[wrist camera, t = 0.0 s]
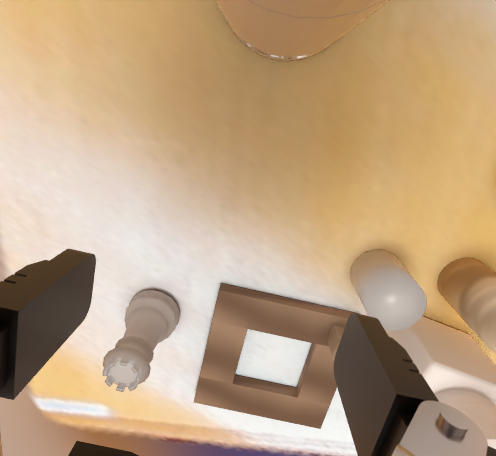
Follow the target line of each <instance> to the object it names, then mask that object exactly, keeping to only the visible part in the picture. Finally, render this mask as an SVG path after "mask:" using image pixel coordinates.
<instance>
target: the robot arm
mask: <svg viewBox="0 0 496 456" xmlns="http://www.w3.org/2000/svg"><path fill="white" fill-rule="evenodd" d="M216 1H217V3H218V5H219V7H220V9H221V11H222V13H223V15H224V17H225V19H226V21H227V23H228V24H229V26H230V27H231V29H232V31H233V32H234V34H235V35H236V36H237V37H238V38H239V39H240V40H241V41H242V42H243V43H244V44H245V45H246V46H247V47H249V48H250V49H252V50H253V51H255V52H256V53H258V54H260V55H263V56H265V57H268V58H271V59H276V60H283V61H290V60H300V59H304V58H307V57H309V56H312V55H315V54H317V53H319V52H320V51H322V50H324V49H325V48H327V47H329V46H330V45H331V44H333V43H334V42H335V41H337V40H338V39H339V38H341V37H342V36H343V35H345V34H346V33H347V32H349V31H350V30H351V29H353V28H354V27H355V26H356V25H358V24H359V23H360V22H362V21H363V20H364V19H365V18H367V17H368V16H369V15H371V14H372V13H373V12H375V11H376V10H377V9H378V8H380V7H381V6H382V5H384V4H385V3H386V2H387V1H389V0H216ZM95 265H96V258H95V255H94V254H90V253H86V252H81V251H77V250H73V249H67V250H65V251H64V252H62V253H61V254H59V255H57V256H56V257H54V258H53V259H51V260H50V261H48V260H44V261H40V262H37V263H33V264H30V265H27V266H25V267H24V268H22V269H21V270H19V271H17V272H16V273H15V275H11V276H9V277H8V278H6V279H5V280H4V282H3V281H1V282H0V397H3V398H7V399H12V400H14V399H15V397H16V396H17V395H18V394H19V393H20V392H21V391H22V389H23V388H24V387H25V386H26V385H27V384H28V383H29V382H30V380H31V379H32V378H33V377H34V376H35V375H36V374H37V373H38V371H39V370H40V369H41V368H42V367H43V366H44V365H45V363H46V362H47V361H48V360H49V359H50V358H51V357H52V356H53V354H54V353H55V352H56V351H57V350H58V349H59V348H60V347H61V345H62V344H63V343H64V342H65V341H66V340H67V339H68V337H69V336H70V335H71V334H72V333H73V332H74V331H75V330H76V328H77V327H78V326H79V325H80V324H81V323H82V322H83V320H84V319H85V317H86V315H87V313H88V311H89V308H90V304H91V298H92V290H93V282H94V273H95ZM333 370H334V377H335V381H336V384H337V387H338V391H339V394H340V397H341V401H342V404H343V407H344V411H345V414H346V417H347V421H348V424H349V427H350V431H351V434H352V437H353V441H354V444H355V447H356V451H357V454H358V456H496V449H494V448H492V447H490V446H488V442H487V439H486V437H485V435H484V433H483V432H482V430H481V429H480V428H479V427H478V426H477V425H476V424H475V423H474V422H473V421H472V420H471V419H470V418H469V417H467V416H466V415H465V414H463V413H462V412H460V411H459V410H457V409H455V408H453V407H451V406H449V405H447V404H444V403H441V402H439V400H438V399H437V397H436V396H435V394H434V393H433V391H432V390H431V388H430V387H429V385H428V383H427V382H426V380H425V379H424V377H423V376H422V374H420V373H419V370H418V368H417V367H416V365H415V363H413V360H412V359H411V357H410V356H409V354H408V353H407V351H406V350H405V349H404V348H403V347H402V346H401V345H400V344H399V343H398V342H397V341H395V340H394V339H393V338H392V337H389V336H388V334H387V333H386V331H385V329H384V328H383V326H382V324H381V323H380V321H379V320H378V319H377V318H374V317H370V316H365V315H361V314H356V313H352V314H351V315H350V316H349V318H348V320H347V323H346V326H345V329H344V332H343V335H342V338H341V341H340V343H339V346H338V349H337V352H336V355H335V359H334V368H333ZM0 456H2V447H1V434H0ZM69 456H138V455H136V454H134V453H132V452H129V451H123V450H119V449H114V448H109V447H104V446H99V445H94V444H89V443H85V442H80V441H76V443H75V445H74V447H73V448H72V450H71V452H70V454H69Z"/></svg>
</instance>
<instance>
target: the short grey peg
mask: <svg viewBox="0 0 496 456" xmlns="http://www.w3.org/2000/svg"><path fill="white" fill-rule="evenodd" d="M350 276H351V280H352V283H353V285H354V287H355V289H356V291H357V293H358V295H359V298H360V300H361V302H362V304H363V306H364V308H365V310H366V312H367V315H368V316H370V317H374V318H377V319H378V320H379V321H380V323H381V324H382V326H383V328H384V329H385V330H393V331H394V330H402V329H405V328H408V327H410V326H412V325H413V324H415V323H416V322H417V321H418V320H419V319H420V318H421V317H422V316H423V314H424V312H425V309H426V305H427V299H426V295H425V293H424V291H423V290H422V288H421V287H420V286H419V285H418V284H417V282H416V281H415V280H414V279H413V277H412V276H411V275H410V274H409V272H408V271H407V270H406V269H405V268H404V266H403V265H402V264H401V263H400V261H399V260H398V259H397V258H396V257H395V256H394V255H393V254H392V253H390V252H388V251H385V250H371V251H368V252H365V253H363V254H362V255H360V256H359V257H358V258H357V259H356V260H355V261H354V263H353V265H352V267H351V272H350Z"/></svg>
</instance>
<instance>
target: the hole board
mask: <svg viewBox="0 0 496 456" xmlns="http://www.w3.org/2000/svg"><path fill="white" fill-rule="evenodd" d="M352 313H354V312H349V311H345V310H340V309H336V308H331V307H327V306H322V305H318V304H313V303H309V302H304V301H300V300H295V299H291V298H286V297H282V296H277V295H273V294H268V293H264V292H259V291H255V290H250V289H246V288H241V287H237V286H232V285H228V284H223V283H221V285H220V289H219V293H218V298H217V302H216V306H215V311H214V315H213V319H212V324H211V328H210V333H209V337H208V341H207V346H206V350H205V355H204V359H203V363H202V368H201V372H200V376H199V381H198V385H197V390H196V394H195V398H194V402H195V403H200V404H204V405H209V406H214V407H219V408H223V409H228V410H233V411H238V412H243V413H247V414H252V415H257V416H262V417H266V418H271V419H276V420H281V421H286V422H290V423H295V424H300V425H305V426H309V427H314V428H319V429H320V428H321V426H322V423H323V421H324V418H325V416H326V413H327V411H328V408H329V406H330V403H331V401H332V398H333V396H334V393H335V391H336V388H337V384H336V381H335V377H334V370H333V368H334V359H335V355H336V352H337V349H338V346H339V343H340V341H341V338H342V335H343V332H344V329H345V326H346V323H347V320H348V318H349V316H350V315H351V314H352ZM356 314H358V313H356ZM247 329H251V330H256V331H260V332H265V333H269V334H274V335H278V336H283V337H288V338H292V339H297V340H301V341H306V342H310V343H312V345H311V348H310V351H309V354H308V357H307V359H306V362H305V365H304V368H303V371H302V374H301V376H300V379H299V382H298V385H297V388H296V387H291V386H286V385H282V384H277V383H272V382H268V381H263V380H258V379H254V378H249V377H244V376H239V375H235V372H236V369H237V365H238V361H239V358H240V354H241V350H242V347H243V343H244V339H245V335H246V332H247Z"/></svg>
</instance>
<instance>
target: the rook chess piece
mask: <svg viewBox="0 0 496 456" xmlns="http://www.w3.org/2000/svg"><path fill="white" fill-rule="evenodd" d="M179 317H180V313H179V309H178V306H177V304H176V303H175V302H174V300H173V299H172V298H171V297H169V296H168V295H166V294H164V293H163V292H159V291H154V290H149V291H142V292H140V293H139V294H137V295H135V296H134V297H133V299H132V300H131V301H130V303H129V306H128V307H127V309H126V315H125V323H126V331H125V334H124V337H123V338H122V339H120V340H119V341H118V342H117V344H116V346H115V349H113V350H111V351H109V352H108V353H107V354H106V356H105V357H104V362H103V366H104V370H103V376H108V377H107V379H106V380H105V382H106V383H107V385H108V386H109V387H110V386H111V385H112V384H113V382H114V383H115V384H117V385H118V387H117V389H116V390H117V391H121V392H123V391H124V389H125V387H128V389H129V390H130V391H132V390H134V389H136V387H137V385H138V384H140V383H142V382H144V381H145V380H146V379H147V377H148V376H149V374H150V365H149V363H150V362H151V360H152V359H153V350H154V348H155V347H156V345H157V344H158V343H159V342H161V341H163V340H164V339H166V338H168V337H169V336H170V335H171V333H172V332H173V331H174V330H175V327H176V325H177V324H178V321H179Z"/></svg>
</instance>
